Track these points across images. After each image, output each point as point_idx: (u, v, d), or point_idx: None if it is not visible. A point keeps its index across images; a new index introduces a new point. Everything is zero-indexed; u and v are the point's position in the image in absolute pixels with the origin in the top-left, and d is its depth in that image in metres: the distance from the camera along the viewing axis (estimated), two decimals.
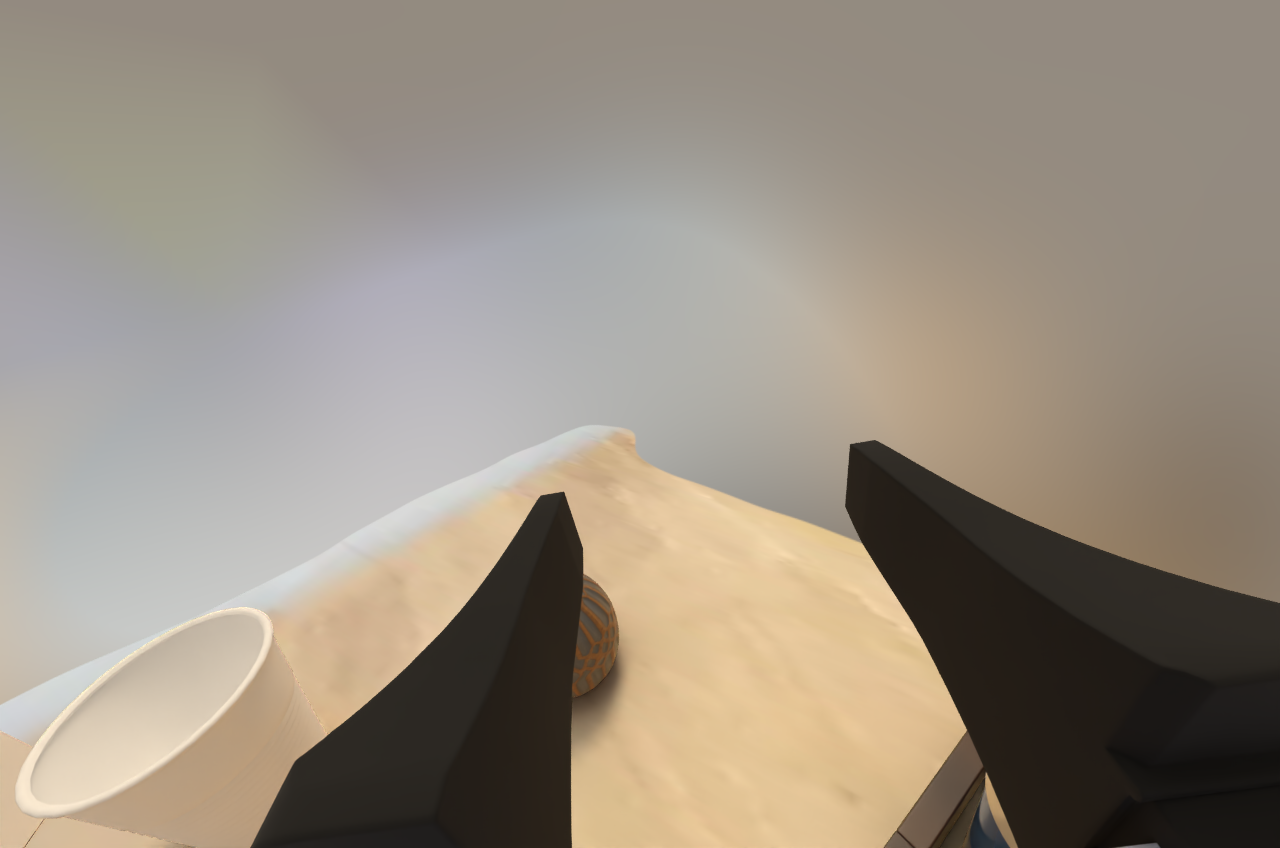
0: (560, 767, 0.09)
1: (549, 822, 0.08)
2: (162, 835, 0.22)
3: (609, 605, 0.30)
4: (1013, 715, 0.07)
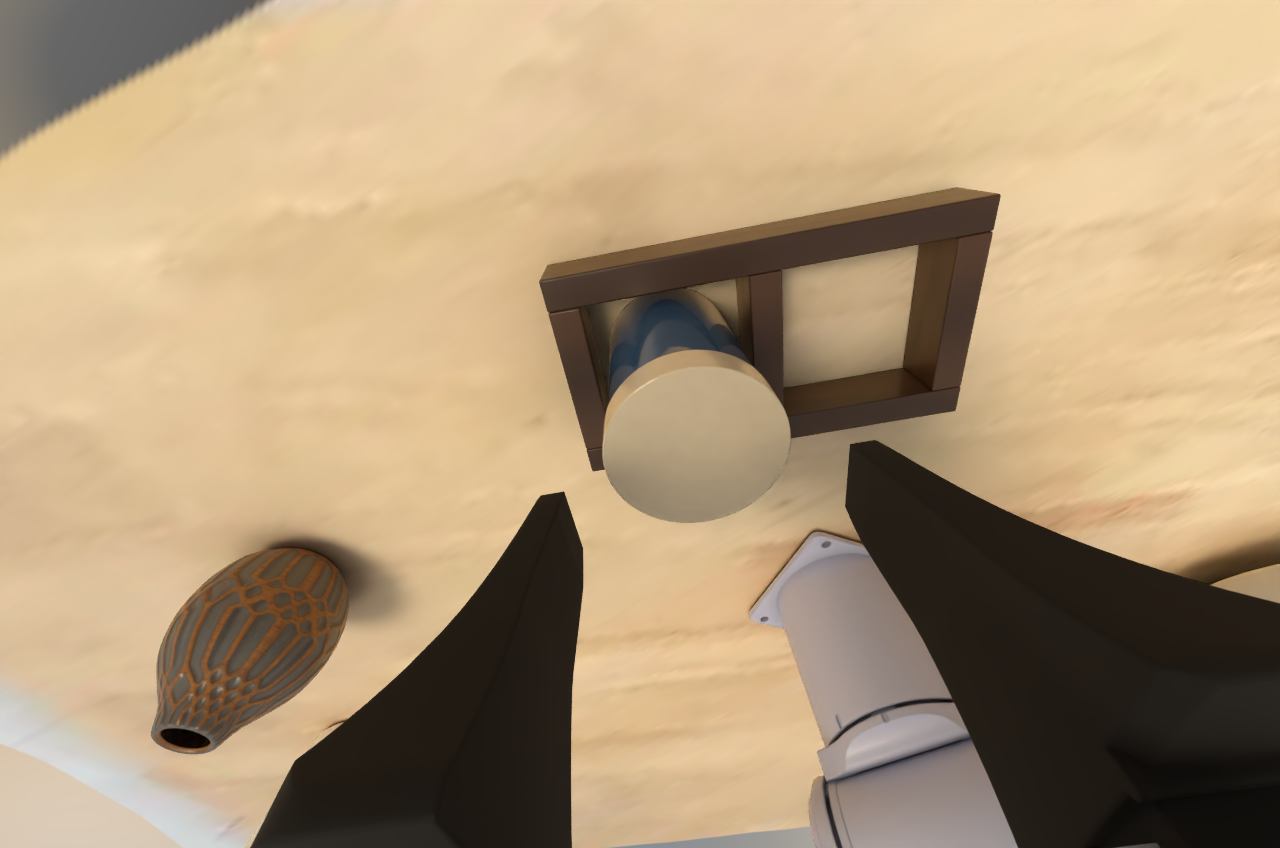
0: (560, 767, 0.09)
1: (549, 822, 0.08)
2: None
3: (237, 608, 0.21)
4: (1013, 715, 0.07)
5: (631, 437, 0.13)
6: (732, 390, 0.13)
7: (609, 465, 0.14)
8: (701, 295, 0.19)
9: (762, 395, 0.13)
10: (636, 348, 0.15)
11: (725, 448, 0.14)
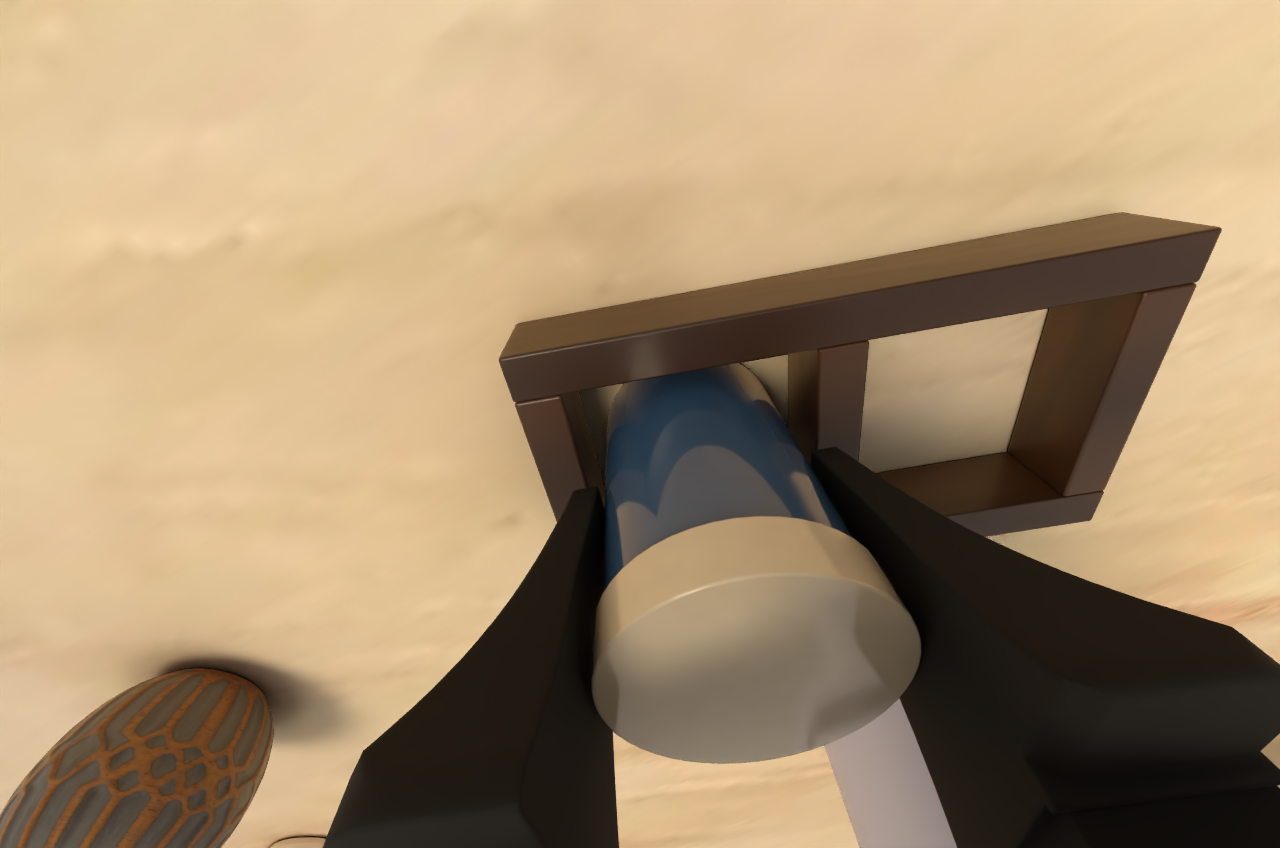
0: (606, 761, 0.09)
1: (601, 815, 0.08)
2: None
3: (93, 789, 0.15)
4: (951, 724, 0.07)
5: (643, 671, 0.08)
6: (829, 605, 0.07)
7: (603, 705, 0.08)
8: (737, 363, 0.14)
9: (883, 611, 0.07)
10: (648, 481, 0.09)
11: (805, 679, 0.08)
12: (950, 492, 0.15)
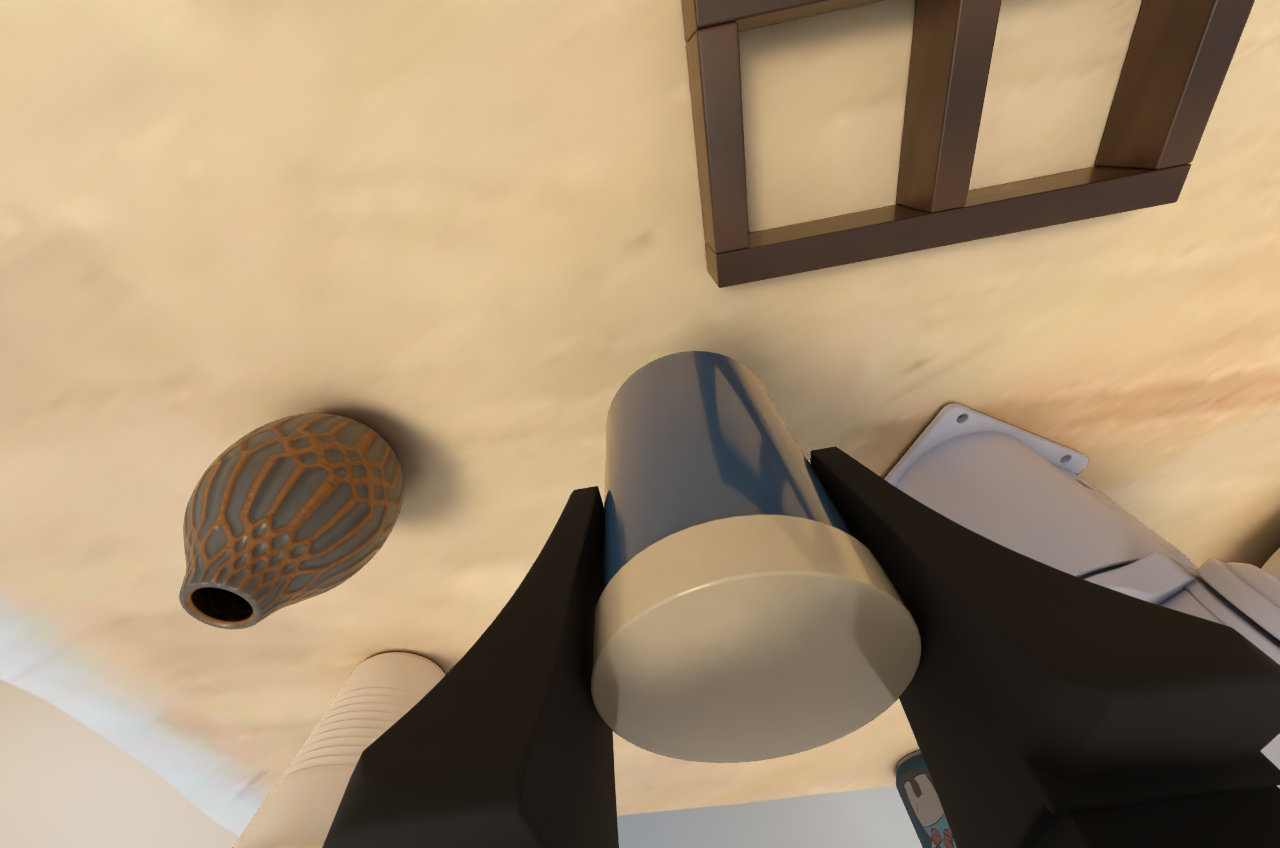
0: (606, 761, 0.09)
1: (600, 815, 0.08)
2: None
3: (282, 458, 0.17)
4: (950, 724, 0.07)
5: (643, 670, 0.08)
6: (829, 604, 0.07)
7: (603, 704, 0.08)
8: (737, 362, 0.14)
9: (883, 610, 0.07)
10: (648, 480, 0.09)
11: (805, 678, 0.08)
12: (1049, 184, 0.17)
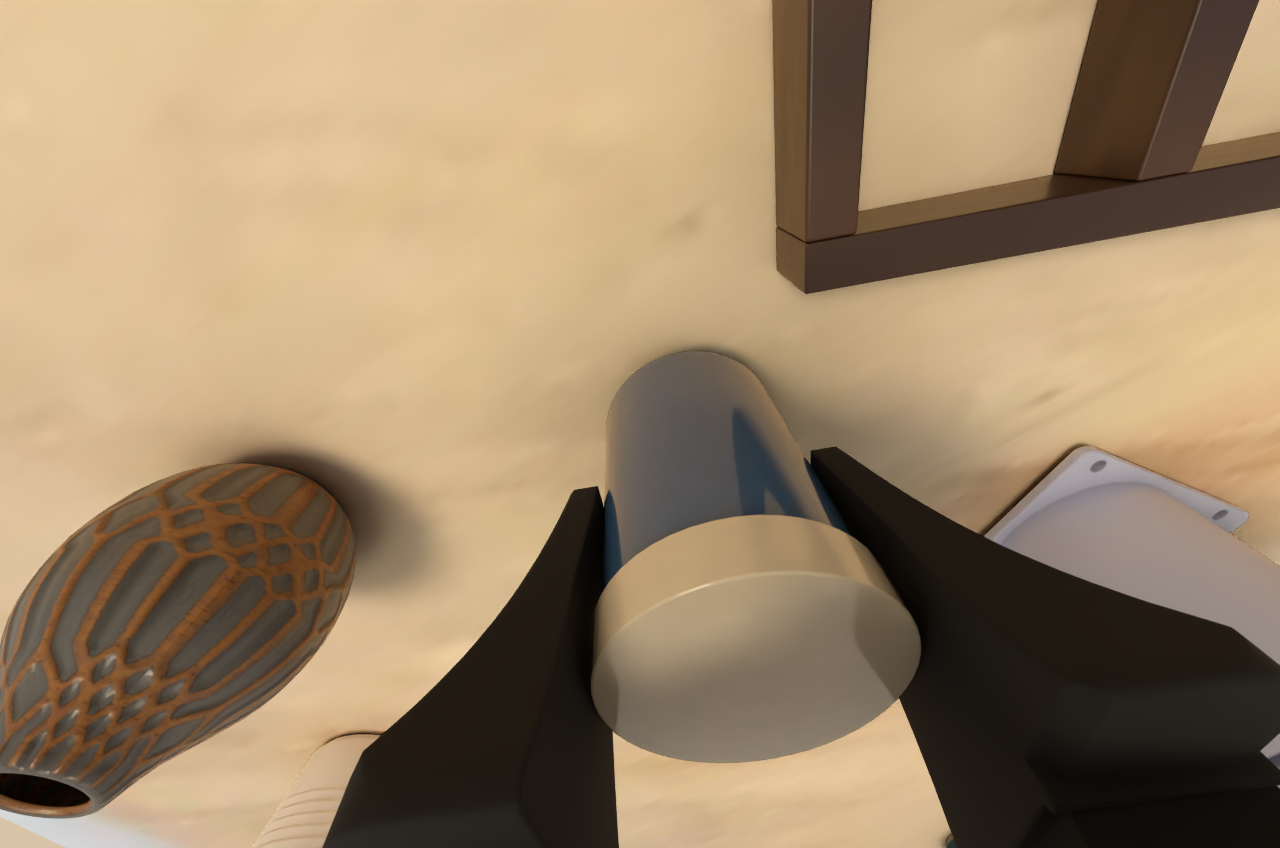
0: (606, 761, 0.09)
1: (601, 815, 0.08)
2: None
3: (155, 545, 0.11)
4: (951, 723, 0.07)
5: (642, 670, 0.08)
6: (829, 604, 0.07)
7: (603, 704, 0.08)
8: (737, 362, 0.14)
9: (883, 610, 0.07)
10: (648, 480, 0.09)
11: (804, 678, 0.08)
12: None
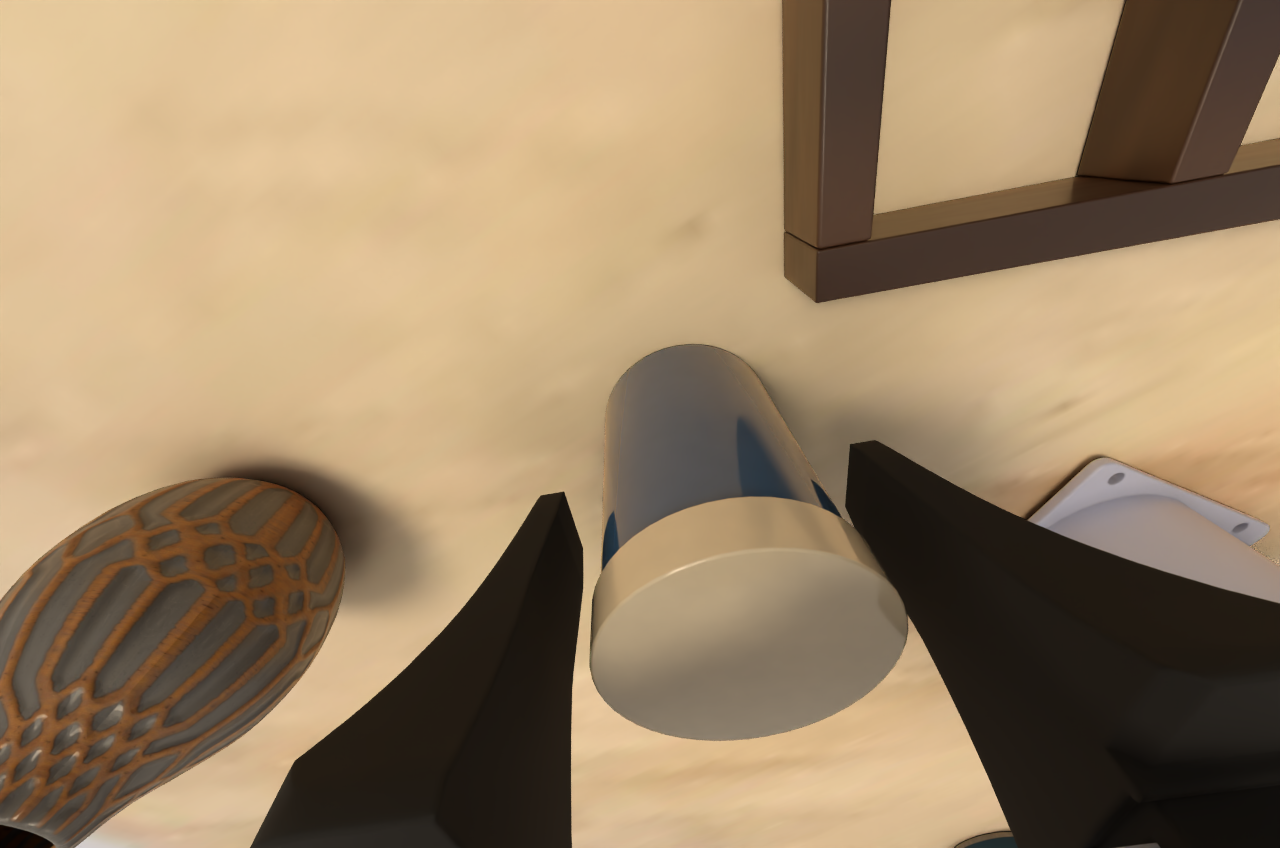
0: (560, 767, 0.09)
1: (549, 822, 0.08)
2: None
3: (127, 569, 0.11)
4: (1013, 715, 0.07)
5: (640, 646, 0.08)
6: (818, 581, 0.07)
7: (601, 680, 0.08)
8: (733, 355, 0.14)
9: (870, 587, 0.07)
10: (645, 466, 0.10)
11: (796, 655, 0.08)
12: None
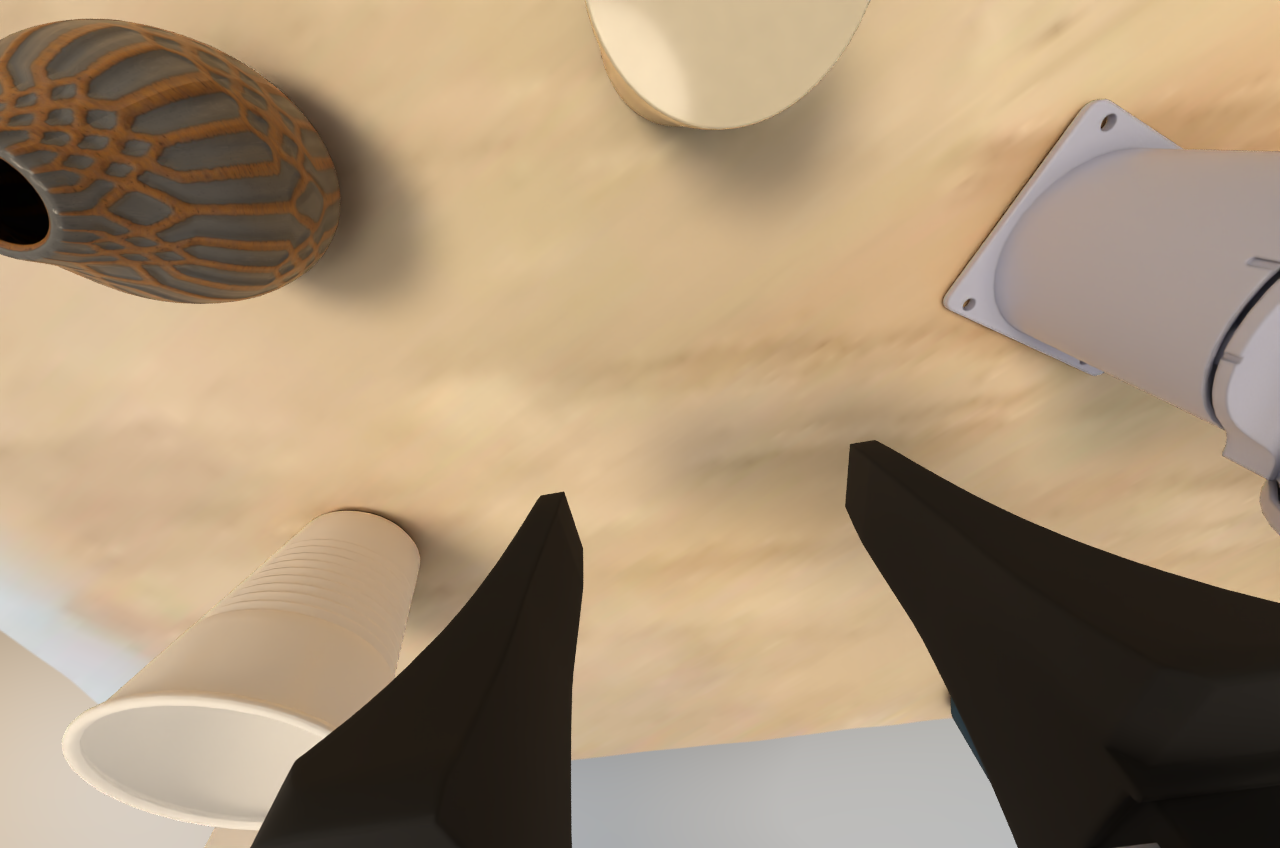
0: (560, 767, 0.09)
1: (549, 822, 0.08)
2: None
3: (121, 28, 0.11)
4: (1013, 715, 0.07)
5: None
6: None
7: None
8: None
9: None
10: None
11: None
12: None
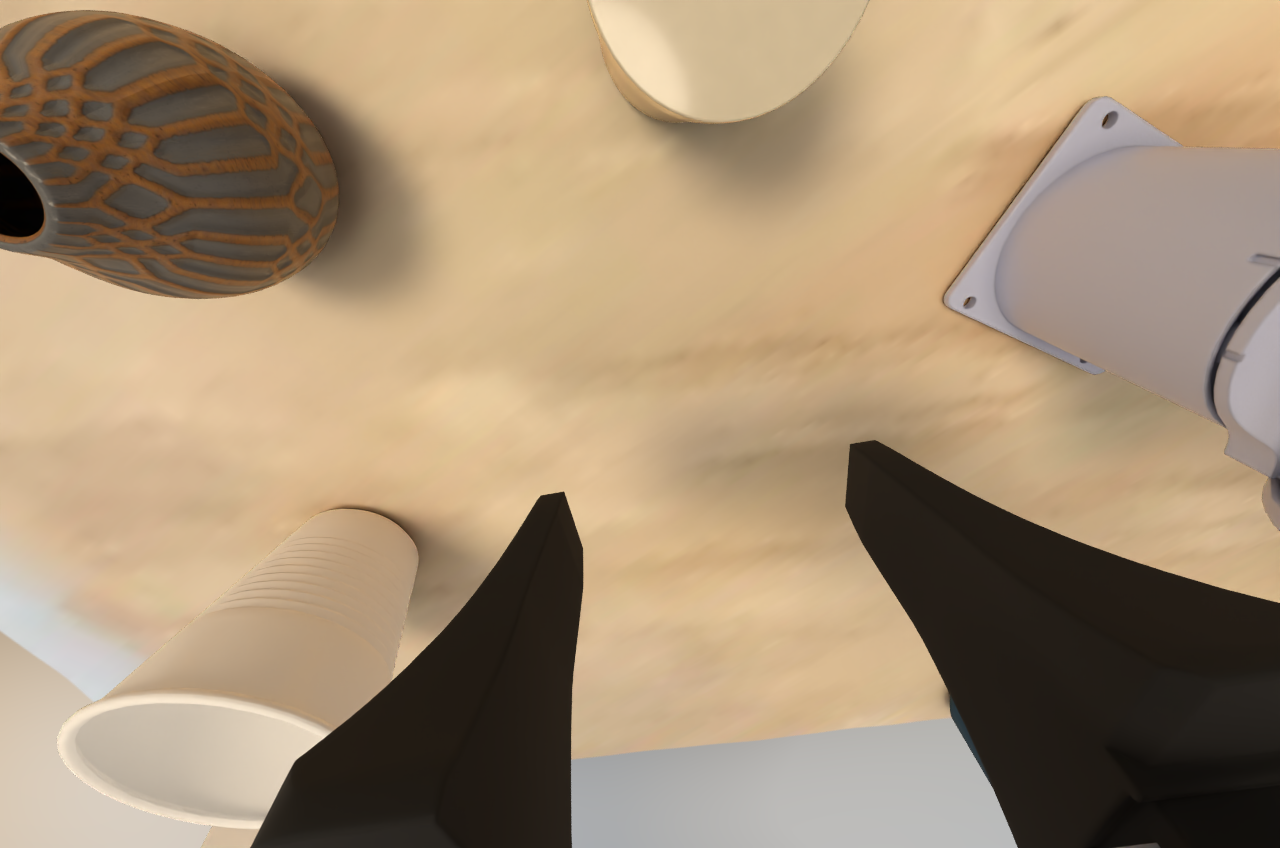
0: (560, 767, 0.09)
1: (549, 822, 0.08)
2: (395, 660, 0.22)
3: (118, 19, 0.11)
4: (1013, 715, 0.07)
5: None
6: None
7: None
8: None
9: None
10: None
11: None
12: None
